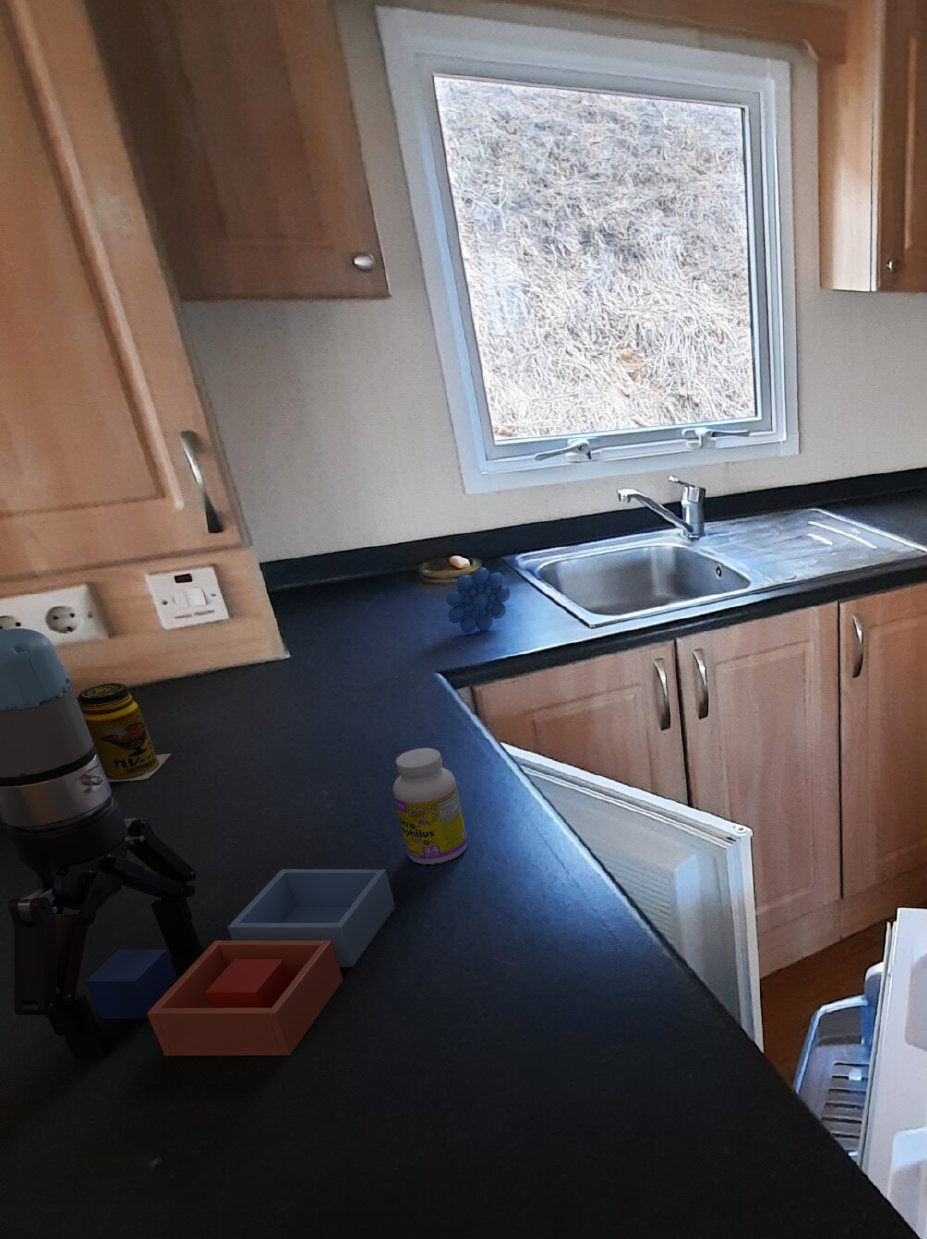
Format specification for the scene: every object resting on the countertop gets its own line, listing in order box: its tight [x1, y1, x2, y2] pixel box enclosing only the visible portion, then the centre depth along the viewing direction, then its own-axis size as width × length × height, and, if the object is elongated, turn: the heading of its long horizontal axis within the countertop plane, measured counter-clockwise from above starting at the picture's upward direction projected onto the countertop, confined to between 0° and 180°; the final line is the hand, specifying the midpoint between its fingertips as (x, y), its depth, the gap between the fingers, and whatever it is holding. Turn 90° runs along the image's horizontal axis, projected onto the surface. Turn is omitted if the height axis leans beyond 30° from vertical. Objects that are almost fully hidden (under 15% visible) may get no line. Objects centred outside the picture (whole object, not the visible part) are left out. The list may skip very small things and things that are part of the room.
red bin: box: [147, 939, 344, 1057], centre depth 90 cm, size 11×10×5 cm
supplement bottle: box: [392, 747, 468, 866], centre depth 113 cm, size 7×7×13 cm
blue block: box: [84, 949, 179, 1019], centre depth 91 cm, size 4×4×4 cm
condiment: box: [78, 682, 172, 783], centre depth 130 cm, size 7×8×12 cm
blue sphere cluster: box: [446, 567, 511, 633], centre depth 180 cm, size 12×7×12 cm, turn 128°
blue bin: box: [227, 868, 396, 968], centre depth 100 cm, size 11×10×5 cm
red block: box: [205, 959, 290, 1008], centre depth 90 cm, size 4×4×4 cm
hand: (143, 1001), depth 92 cm, fingers open, 13 cm apart
